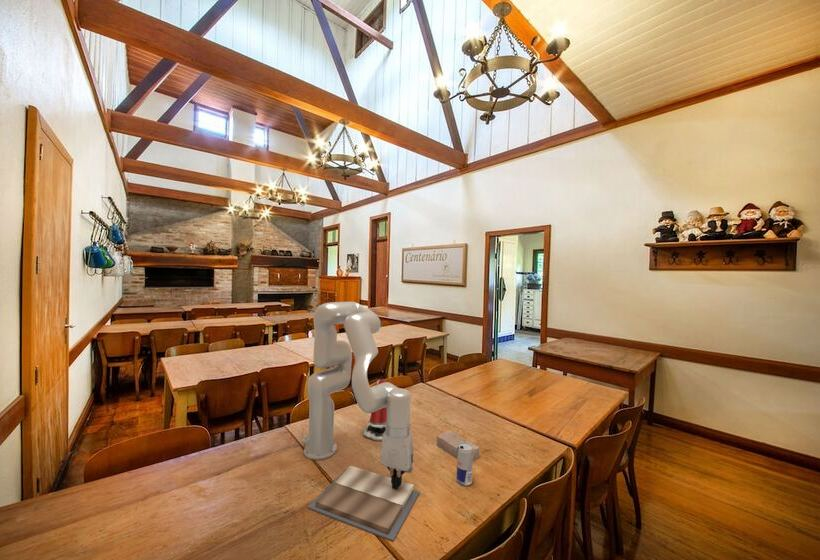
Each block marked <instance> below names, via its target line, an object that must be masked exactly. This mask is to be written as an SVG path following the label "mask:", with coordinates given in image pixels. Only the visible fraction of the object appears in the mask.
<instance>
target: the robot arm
mask: <svg viewBox="0 0 820 560" xmlns="http://www.w3.org/2000/svg"><path fill="white" fill-rule="evenodd" d="M341 324H342V325H343V328H344V331H345V334H346V337H347V339H348V342H349V343H348V342H347V341H345V340H338V332H337V329H336V326H335V325H341ZM313 326H314V341H313V342H314V343H313V344H314V345H313V356H312V357H313V358H312V359H313V363H314V366H315V367H316V368H318V369H321V370H319V371H316V372H314V373H312V374H311V375H310V376H309V378H308V379H307V390H308V399H309V400H308V403H309V407H308V409H309V411H308V413H309V415H308V434H303V436H302V438H301V441H300V442H301V443H302V444H305V446H304V448H303V455H304V456H305V458H307V459H310V460H314V461H315V460H316V461H317V460H325V459H328V458H330V457H332V456H333V455H335V454H336V452H337V450H338V445H337V443H336V442H335V441H334V429H335V428H334V426H335V403H334V400H333V399H332V397H331V394H333V393H337V392H339V391H341V390H344V389H345V388H347V387H348V386H349V385H350V382H351V389H352V392H353V395H354V398H355V401H356V402H357V405H358V407H359V408H360V410H361V411H362V412H363V413H365V414H371V413H373V412H375V411H378V410H380V409H382V408H384V407H387V422H384V423H383V427H386V431H385V432H384V434H383V438H382V441H381V445H380V452H379V453H380V454H379V462H380V464H381V465H382V466H384V467H385V468H387V470H388V471H389V474H390V476H391V477H390V478H391V483H392V488H393V489H394V488H395V489H396V490H397V489H398V487H399V486H400V485H401V483H402V482H403V480H402V479H403V475H404V474H405V473H407V474H408V473H409V474H411V473H413V471H414V467H413V463H414V442H413V441H414V440H413V436H412V433H411V432H410V430H411V429H410V428H411V424H410V423H411V397H412V396H411V392H410V391H409V390H407V389H406V388H400V387H398V386H396V385H394V384H392V382H389V381H387V382H386V381H385V382H384V383H381V384H378V385H377V384H376V385H373V386H370V383H369V379H368V369H369V366H370V364H371V362H372V361H373V359H375V358H376V357H377V355H378V354H379V349H378V346H377V344H376V341H375V338H374V334H377V333H378V332H379V331H380V329H381V319H380V318H379V316H378V315H377V313H375V312H374V311H372V310H371V309H369V308H368V307H365V306H364V305H362V304H360V303H358V302H356V301H335V302H334V301H332V302H331V301H330V302H325V303H322V304H320V305H319V306H317V307H316V308H315V311H314V313H313ZM353 357H354V363H353V364H354V365H353V369H352V359H353ZM322 369H323V370H322Z"/></svg>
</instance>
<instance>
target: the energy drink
mask: <svg viewBox="0 0 820 560" xmlns="http://www.w3.org/2000/svg"><path fill="white" fill-rule="evenodd" d="M473 463H474V460H473V447H472V445H470V444H468V443H460V444H459V445H458V448H457V458H456V477H455V478H456V482H457V483H458V484H459V485H460V486H463V487H468V486H471V484H472V483H473V471H474V470H473V467H474V466H473V465H474V464H473Z"/></svg>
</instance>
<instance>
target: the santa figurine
mask: <svg viewBox="0 0 820 560" xmlns="http://www.w3.org/2000/svg"><path fill="white" fill-rule="evenodd" d="M384 382H386V381H385V380H384V379H379V380H378V379H377V382H376V385H378V384H381V383H384ZM384 422H387V407H384V408H382V409H380V410H378V411H375V412H373V413H370V416H369V421H368V423H367V426H366V428H365V430H364V431H363V436H364V437H365V438H368V439H370V440H373V441H376V442H382V438H383V434H384V432H385V431H386V427H383V423H384Z"/></svg>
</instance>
